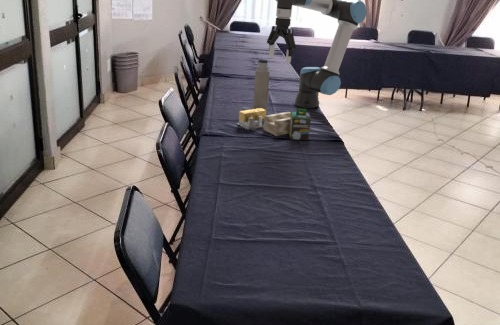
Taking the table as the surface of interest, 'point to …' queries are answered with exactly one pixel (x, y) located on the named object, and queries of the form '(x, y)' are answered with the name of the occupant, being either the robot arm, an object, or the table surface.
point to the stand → (251, 123)
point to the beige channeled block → (277, 123)
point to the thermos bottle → (261, 85)
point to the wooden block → (251, 114)
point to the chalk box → (299, 125)
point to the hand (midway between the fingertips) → (279, 60)
